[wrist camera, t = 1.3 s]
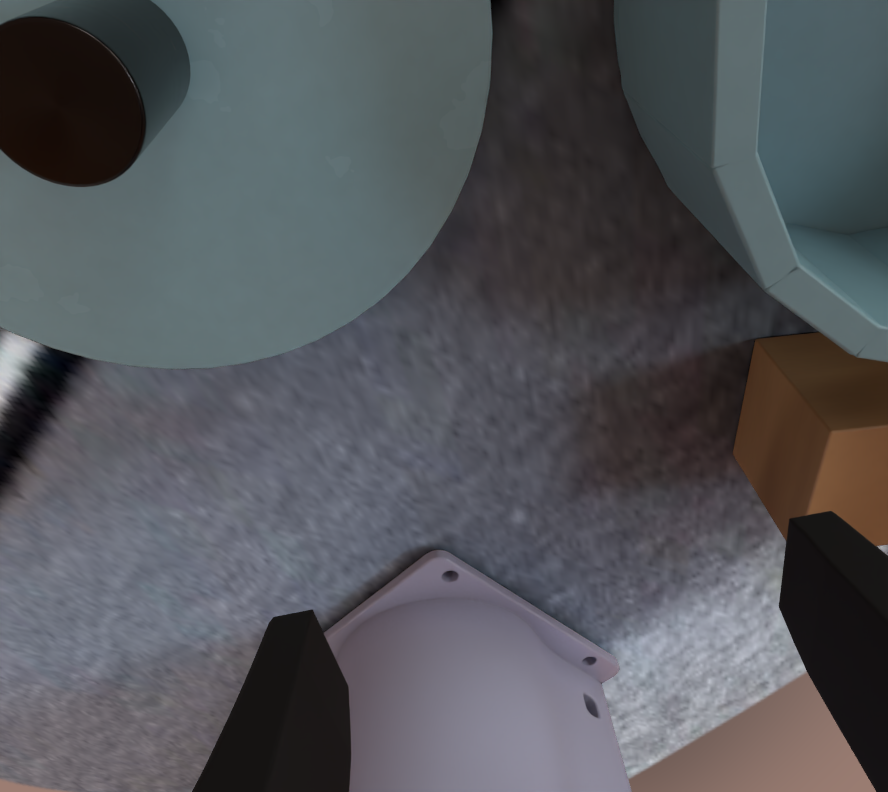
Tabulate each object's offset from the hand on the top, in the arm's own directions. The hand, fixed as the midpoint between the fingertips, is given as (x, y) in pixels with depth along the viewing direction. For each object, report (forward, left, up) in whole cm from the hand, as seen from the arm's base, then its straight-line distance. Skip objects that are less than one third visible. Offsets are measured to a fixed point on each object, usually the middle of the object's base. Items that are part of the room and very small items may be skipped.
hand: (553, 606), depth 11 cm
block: (-9, -5, -9) cm, 13 cm away
